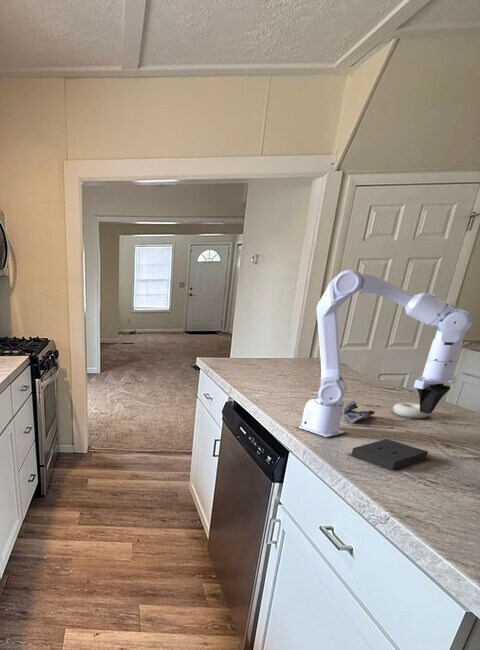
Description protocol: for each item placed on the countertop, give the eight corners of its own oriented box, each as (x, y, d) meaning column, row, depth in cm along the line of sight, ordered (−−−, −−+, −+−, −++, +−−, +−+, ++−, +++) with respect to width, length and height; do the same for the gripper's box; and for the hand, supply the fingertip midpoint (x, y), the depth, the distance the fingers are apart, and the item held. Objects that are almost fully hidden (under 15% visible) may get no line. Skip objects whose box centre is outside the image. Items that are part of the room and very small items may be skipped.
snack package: (326, 416, 133) (360, 426, 122) (332, 397, 131) (366, 405, 121) (349, 417, 137) (384, 427, 127) (355, 399, 136) (391, 407, 126)
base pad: (351, 455, 103) (352, 448, 102) (368, 450, 106) (369, 443, 105) (392, 470, 94) (394, 462, 94) (409, 464, 97) (411, 456, 96)
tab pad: (363, 451, 105) (365, 444, 104) (384, 445, 108) (386, 438, 108) (405, 465, 96) (407, 458, 96) (425, 458, 100) (428, 451, 99)
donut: (385, 410, 138) (401, 419, 129) (388, 400, 137) (404, 408, 127) (418, 411, 136) (436, 420, 127) (420, 401, 135) (439, 409, 126)
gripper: (444, 365, 93) (427, 420, 98) (476, 359, 99) (458, 412, 104) (411, 360, 99) (396, 413, 104) (443, 355, 105) (427, 405, 110)
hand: (425, 412), depth 104 cm, fingers closed
